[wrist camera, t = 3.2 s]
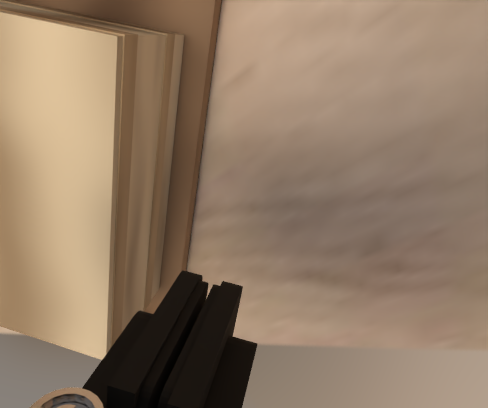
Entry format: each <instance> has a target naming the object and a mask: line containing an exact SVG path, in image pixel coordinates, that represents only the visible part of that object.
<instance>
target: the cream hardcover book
mask: <svg viewBox="0 0 488 408" xmlns="http://www.w3.org/2000/svg"><path fill="white" fill-rule="evenodd" d="M183 44H184V35H183V34H178V33H173V32H168V31H163V30H158V29H153V28H148V27H144V26H139V25H134V24H129V23H124V22H119V21H114V20H109V19H104V18H99V17H94V16H89V15H84V14H79V13H74V12H69V11H64V10H59V9H54V8H49V7H44V6H39V5H34V4H29V3H24V2H20V1H15V0H0V326H1V327H4V328H7V329H10V330H13V331H16V332H19V333H22V334H25V335H28V336H31V337H34V338H38V339H40V340H44V341H47V342H50V343H53V344H56V345H59V346H62V347H65V348H68V349H71V350H74V351H77V352H80V353H83V354H86V355H89V356H92V357H95V358H98V359H101V360H103V358H104V357H105V355H106V354H107V353H108V351H109V350H110V348H111V347H112V346H113V344H114V343H115V341H116V340H117V339H118V337H119V336H120V334H121V333H122V332H123V330H124V329H125V327H126V326H127V325H128V323H129V322H130V320H131V319H132V318H133V316H134V315H135V314H136V313H137V312H138V311H145V310H146V309H147V307H148V306H149V304H150V303H151V299H152V298H153V297H154V295H155V294H156V293H157V291H158V290H159V284H160V274H161V264H162V254H163V244H164V234H165V224H166V214H167V204H168V194H169V184H170V174H171V164H172V154H173V144H174V134H175V124H176V114H177V104H178V94H179V84H180V74H181V64H182V54H183Z"/></svg>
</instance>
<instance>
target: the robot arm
mask: <svg viewBox="0 0 488 408" xmlns="http://www.w3.org/2000/svg"><path fill="white" fill-rule="evenodd" d="M242 288H243V287H242V286H239V285H235V284H232V283H228V282H224V281H223V282H222V284H221V286H218V285H213V287H212V289H211V291H210V293H209V295H208V297H207V299H206V296H207V290H208V283H207V282H203V281H202V275H198V274H194V273H191V272H187V271H181V272H180V274H179V275H178V277H177V278H176V280H175V282H174V283H173V285H172V286H171V288H170V289H169V291H168V292H167V294H166V295H165V297H164V299H163V300H162V302H161V303H160V305H159V306H158V308H157V309H156V311H155V312H154V314H151V313H147V312H144V311H138V312H137V313H136V314H135V315H134V316H133V318H132V319H131V320H130V322H129V323H128V325H127V326H126V327H125V329H124V330H123V332H122V333H121V334H120V336H119V337H118V339H117V340H116V341H115V343H114V344H113V346H112V347H111V348H110V350H109V351H108V353H107V354H106V355H105V357H104V358H103V360H102V361H101V363H100V364H99V365H98V367H97V368H96V369H95V371H94V372H93V374H92V375H91V376H90V378H89V379H88V381H87V382H86V383H85V385H84V386H83V388H63V389H59V390H55V391H53V392H51V393H48V394H46V395H44V396H43V397H42V398H40V399H39V400H38V401H36V402H35V403H34V404H33V405H32V406H31V407H30V408H242V405H243V401H244V397H245V392H246V389H247V384H248V381H249V376H250V372H251V368H252V364H253V360H254V356H255V352H256V348H257V343H253V342H250V341H246V340H243V339H239V338H236V337H232V336H233V332H234V327H235V322H236V317H237V313H238V308H239V303H240V298H241V293H242Z"/></svg>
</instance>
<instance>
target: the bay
mask: <svg viewBox="0 0 488 408" xmlns="http://www.w3.org/2000/svg"><path fill="white" fill-rule="evenodd" d="M15 1H20V2H24V3H29V4H34V5H39V6H44V7H49V8H54V9H59V10H64V11H69V12H74V13H79V14H84V15H89V16H94V17H99V18H104V19H109V20H114V21H119V22H124V23H129V24H134V25H139V26H144V27H148V28H153V29H158V30H163V31H168V32H173V33H178V34H183V35H184V44H183V54H182V64H181V74H180V84H179V94H178V104H177V114H176V124H175V134H174V144H173V154H172V164H171V174H170V184H169V194H168V204H167V214H166V224H165V234H164V244H163V254H162V264H161V274H160V284H159V290H158V291H157V293H156V294H155V295H154V297H153V298H152V299H151V303H150V304H149V306H148V307H147V309H146V310H145V311H144V312H147V313H151V314H154V312H155V311H156V309H157V308H158V306H159V305H160V303H161V302H162V300H163V299H164V297H165V295H166V294H167V292H168V291H169V289H170V288H171V286H172V285H173V283H174V282H175V280H176V278H177V277H178V275H179V274H180V272H181V271H186V267H187V259H188V252H189V244H190V236H191V229H192V221H193V214H194V206H195V198H196V191H197V183H198V176H199V168H200V160H201V153H202V145H203V138H204V130H205V122H206V115H207V107H208V100H209V92H210V84H211V77H212V69H213V62H214V54H215V46H216V39H217V31H218V24H219V16H220V8H221V1H222V0H15Z"/></svg>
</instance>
